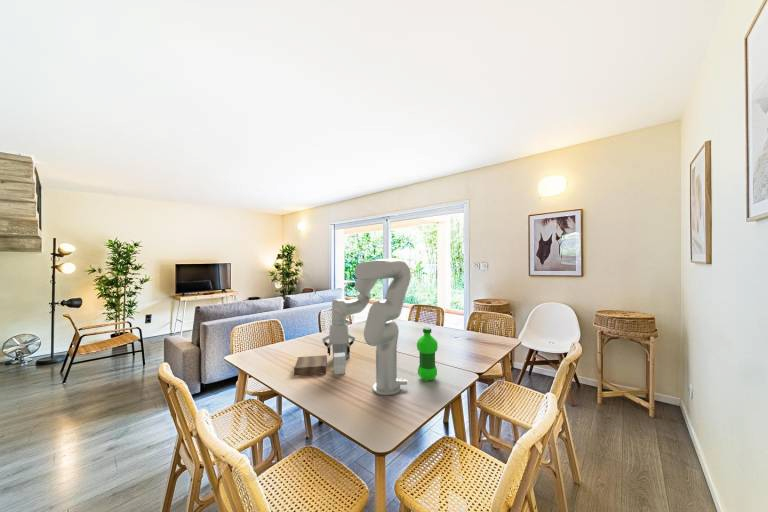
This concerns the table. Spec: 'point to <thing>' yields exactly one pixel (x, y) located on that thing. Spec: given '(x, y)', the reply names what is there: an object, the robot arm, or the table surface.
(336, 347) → the skincare box
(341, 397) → the table surface
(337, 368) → the white rectangular block
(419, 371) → the plastic bottle
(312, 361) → the walnut stand
